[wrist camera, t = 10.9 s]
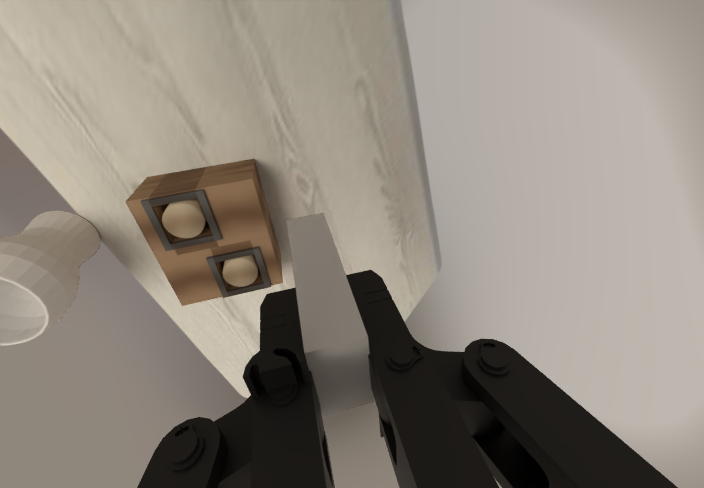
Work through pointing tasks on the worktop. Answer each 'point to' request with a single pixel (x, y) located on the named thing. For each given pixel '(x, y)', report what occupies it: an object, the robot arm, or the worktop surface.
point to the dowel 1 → (184, 218)
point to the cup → (42, 273)
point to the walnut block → (210, 229)
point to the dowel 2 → (241, 271)
